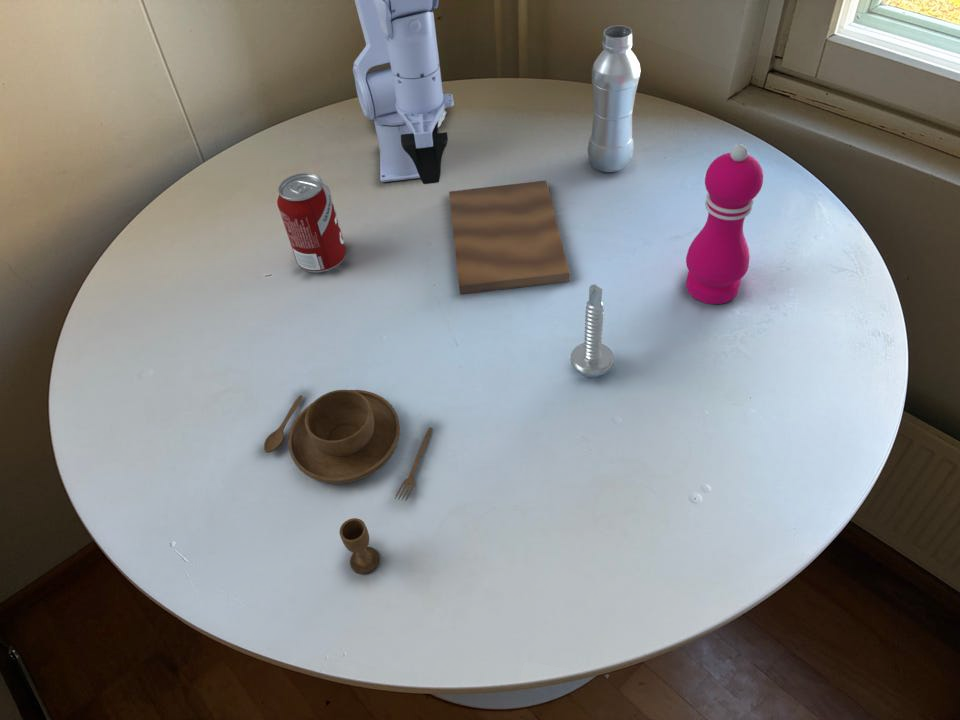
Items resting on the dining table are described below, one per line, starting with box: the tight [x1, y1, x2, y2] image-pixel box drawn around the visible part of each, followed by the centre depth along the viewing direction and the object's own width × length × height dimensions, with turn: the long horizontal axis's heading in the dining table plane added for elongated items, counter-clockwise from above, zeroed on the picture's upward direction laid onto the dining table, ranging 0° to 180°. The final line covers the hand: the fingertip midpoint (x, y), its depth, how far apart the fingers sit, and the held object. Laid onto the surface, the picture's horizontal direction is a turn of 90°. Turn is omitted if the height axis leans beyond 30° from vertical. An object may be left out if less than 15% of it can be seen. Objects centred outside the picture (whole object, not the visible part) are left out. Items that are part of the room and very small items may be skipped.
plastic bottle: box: [587, 25, 642, 173], centre depth 106 cm, size 6×7×20 cm
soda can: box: [276, 172, 347, 273], centre depth 99 cm, size 7×7×12 cm
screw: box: [569, 284, 615, 379], centre depth 82 cm, size 13×5×5 cm
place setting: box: [263, 389, 433, 575], centre depth 78 cm, size 18×20×6 cm
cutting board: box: [448, 179, 571, 295], centre depth 103 cm, size 20×14×2 cm
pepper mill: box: [685, 143, 764, 305], centre depth 87 cm, size 7×7×20 cm
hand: (429, 165), depth 100 cm, fingers open, 7 cm apart
